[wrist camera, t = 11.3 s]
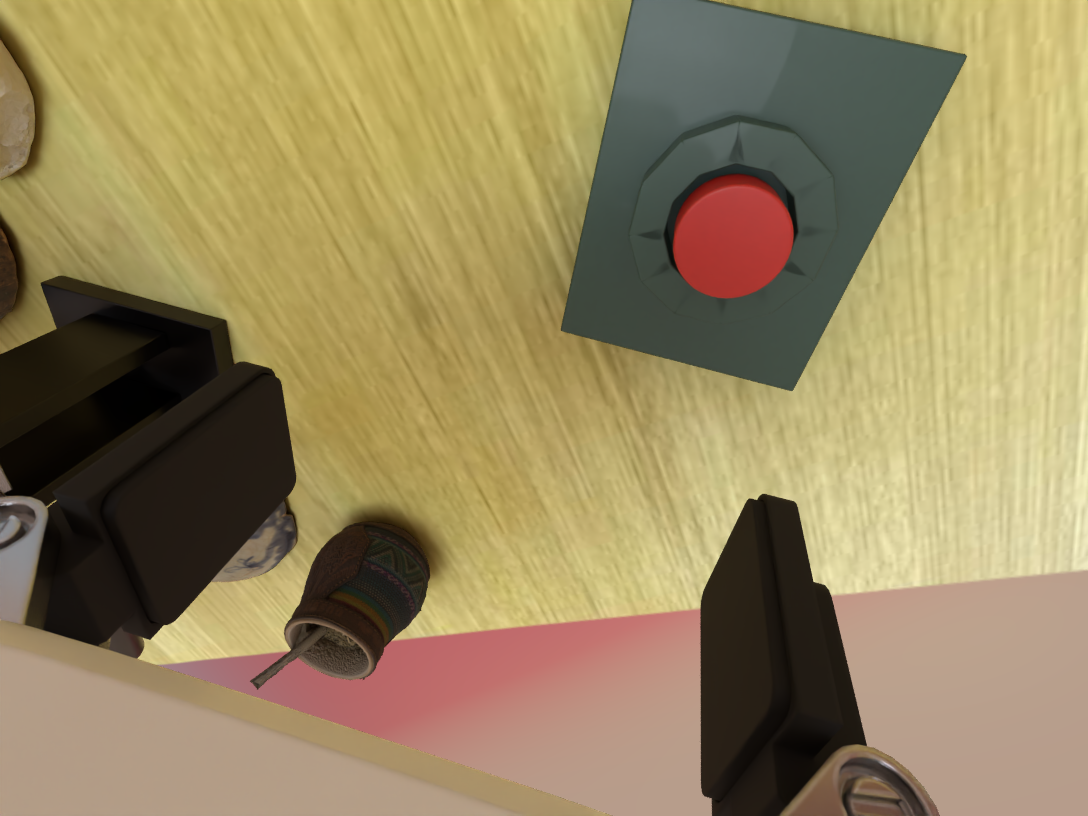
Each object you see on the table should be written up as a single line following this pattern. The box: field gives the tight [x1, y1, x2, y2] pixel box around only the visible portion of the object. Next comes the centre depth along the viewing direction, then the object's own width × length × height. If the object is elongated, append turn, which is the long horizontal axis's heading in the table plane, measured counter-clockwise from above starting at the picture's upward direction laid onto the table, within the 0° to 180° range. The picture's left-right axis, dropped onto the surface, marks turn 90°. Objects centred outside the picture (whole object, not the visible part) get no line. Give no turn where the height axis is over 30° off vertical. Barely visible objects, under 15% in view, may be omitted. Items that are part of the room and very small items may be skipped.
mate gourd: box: [250, 522, 430, 689], centre depth 33 cm, size 7×8×10 cm
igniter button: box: [673, 174, 794, 298], centre depth 18 cm, size 4×4×2 cm
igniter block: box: [561, 0, 967, 391], centre depth 20 cm, size 12×10×4 cm
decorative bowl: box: [212, 501, 297, 582], centre depth 38 cm, size 15×4×15 cm
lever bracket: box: [0, 276, 233, 506], centre depth 27 cm, size 10×7×13 cm
